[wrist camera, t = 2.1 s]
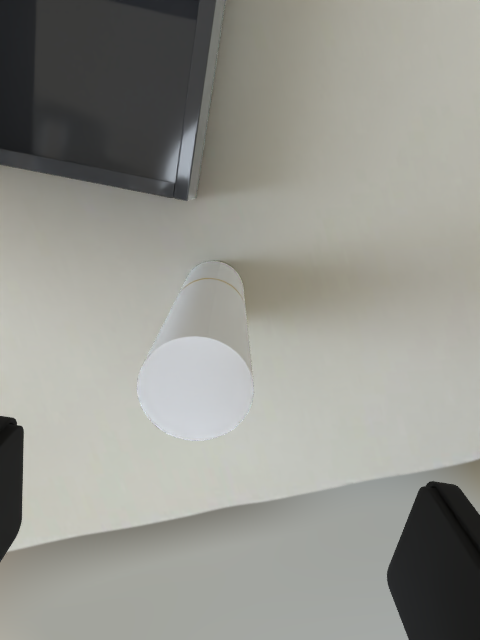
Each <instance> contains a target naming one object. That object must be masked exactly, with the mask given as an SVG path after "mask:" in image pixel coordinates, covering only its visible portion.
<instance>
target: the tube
mask: <svg viewBox="0 0 480 640" xmlns="http://www.w3.org/2000/svg"><path fill="white" fill-rule="evenodd" d="M137 393H138V399H139V402H140V405H141V407H142V410H143V411H144V413H145V414H146V416H147V417H148V419H149V420H150V421H151V422H152V423H153V424H154V425H155V426H156V427H158V428H159V429H161V430H162V431H164V432H165V433H167V434H169V435H172V436H174V437H177V438H180V439H184V440H192V441H201V440H209V439H213V438H217V437H220V436H222V435H224V434H227V433H228V432H230V431H231V430H233V429H234V428H236V427H237V426H238V425H239V424H240V423H241V422H242V421H243V420H244V418H245V416H246V415H247V413H248V412H249V410H250V407H251V405H252V402H253V396H254V382H253V373H252V363H251V354H250V345H249V335H248V326H247V316H246V307H245V298H244V288H243V283H242V280H241V278H240V276H239V274H238V273H237V272H236V270H235V269H233V268H232V267H231V266H229V265H228V264H226V263H223V262H219V261H208V262H204V263H201V264H199V265H197V266H196V267H195V268H193V269H192V270H191V272H190V273H189V274H188V276H187V278H186V280H185V282H184V284H183V286H182V288H181V290H180V292H179V294H178V296H177V298H176V300H175V302H174V304H173V306H172V308H171V310H170V312H169V314H168V316H167V318H166V320H165V322H164V323H163V325H162V327H161V329H160V331H159V333H158V335H157V337H156V339H155V341H154V343H153V345H152V347H151V349H150V351H149V353H148V355H147V357H146V359H145V361H144V363H143V365H142V367H141V369H140V372H139V376H138V379H137Z"/></svg>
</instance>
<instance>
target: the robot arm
mask: <svg viewBox="0 0 480 640" xmlns="http://www.w3.org/2000/svg"><path fill="white" fill-rule="evenodd" d="M23 438H24V431H23V427H22V426H18V425H17V422H16V419H14V418H10V417H4V416H0V562H1V560H2V558H3V557H4V555H5V554H6V552H7V551H8V549H9V547H10V546H11V544H12V543H13V541H14V539H15V538H16V536H17V534H18V531H19V529H20V526H21V520H22V484H23ZM387 581H388V586H389V589H390V592H391V594H392V597H393V599H394V602H395V605H396V607H397V610H398V612H399V615H400V618H401V620H402V623H403V625H404V628H405V631H406V633H407V636H408V638H409V640H480V515H479V514H478V512H477V511H476V510H475V508H474V507H473V506H472V504H471V503H470V502H469V500H468V499H467V497H466V496H465V495H464V493H463V492H462V491H461V489H460V488H459V487H458V486H456V485H453V484H447V483H440V482H434V481H432V482H429V483H428V484H427V485H426V487H421V488H420V490H419V491H418V494H417V497H416V499H415V502H414V504H413V507H412V510H411V512H410V514H409V517H408V519H407V522H406V524H405V527H404V530H403V532H402V535H401V537H400V540H399V542H398V545H397V547H396V550H395V552H394V555H393V557H392V560H391V563H390V565H389V568H388V571H387Z"/></svg>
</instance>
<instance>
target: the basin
mask: <svg viewBox="0 0 480 640" xmlns="http://www.w3.org/2000/svg"><path fill="white" fill-rule="evenodd" d="M225 3H226V0H0V165H5V166H10V167H15V168H20V169H25V170H30V171H35V172H40V173H46V174H51V175H56V176H61V177H66V178H71V179H76V180H82V181H87V182H92V183H97V184H102V185H107V186H112V187H118V188H123V189H128V190H133V191H138V192H143V193H148V194H154V195H159V196H164V197H169V198H175V199H179V200H185V201H187V200H191V199H194V198H196V197H197V191H198V184H199V177H200V171H201V164H202V157H203V150H204V144H205V137H206V130H207V123H208V117H209V110H210V103H211V97H212V90H213V83H214V76H215V70H216V63H217V56H218V50H219V43H220V36H221V29H222V23H223V16H224V9H225Z"/></svg>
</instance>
